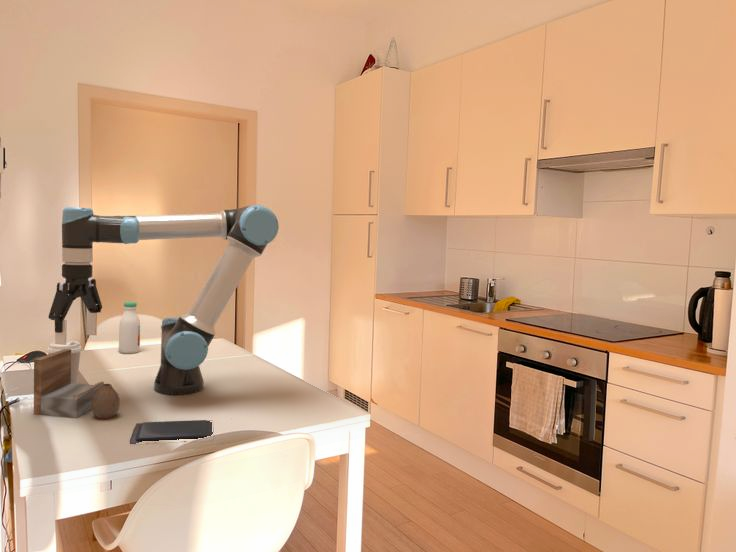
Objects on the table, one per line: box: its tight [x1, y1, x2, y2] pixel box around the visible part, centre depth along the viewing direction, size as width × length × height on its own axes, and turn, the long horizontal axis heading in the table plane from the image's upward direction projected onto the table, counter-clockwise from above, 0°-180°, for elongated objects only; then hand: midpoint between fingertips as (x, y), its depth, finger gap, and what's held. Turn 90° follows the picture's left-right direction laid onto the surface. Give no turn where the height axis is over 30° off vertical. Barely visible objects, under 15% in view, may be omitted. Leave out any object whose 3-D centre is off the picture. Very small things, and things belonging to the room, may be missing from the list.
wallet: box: [129, 419, 214, 445], centre depth 146 cm, size 20×2×15 cm
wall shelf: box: [33, 349, 105, 419], centre depth 159 cm, size 12×14×15 cm
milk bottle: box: [118, 301, 141, 354], centre depth 228 cm, size 8×8×20 cm
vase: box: [91, 383, 121, 419], centre depth 155 cm, size 7×7×9 cm
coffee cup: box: [46, 340, 83, 384], centre depth 173 cm, size 10×10×15 cm
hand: (76, 339), depth 159 cm, fingers open, 13 cm apart
